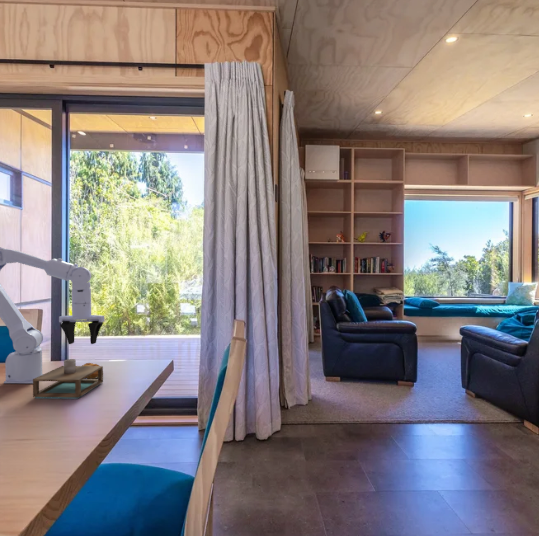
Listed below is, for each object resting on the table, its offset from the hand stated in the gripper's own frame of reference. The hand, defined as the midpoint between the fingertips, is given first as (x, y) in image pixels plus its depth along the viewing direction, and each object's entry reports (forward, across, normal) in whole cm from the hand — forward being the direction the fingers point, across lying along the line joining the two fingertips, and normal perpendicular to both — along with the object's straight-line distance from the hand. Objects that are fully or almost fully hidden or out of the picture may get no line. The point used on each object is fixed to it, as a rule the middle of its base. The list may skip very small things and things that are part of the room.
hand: (82, 343), depth 121 cm
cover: (+10, +5, -15) cm, 19 cm away
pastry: (+11, +4, -1) cm, 11 cm away
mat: (+10, +5, -16) cm, 19 cm away
